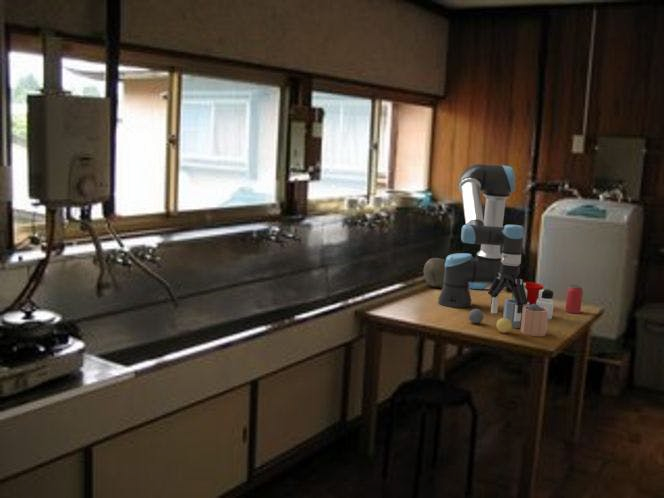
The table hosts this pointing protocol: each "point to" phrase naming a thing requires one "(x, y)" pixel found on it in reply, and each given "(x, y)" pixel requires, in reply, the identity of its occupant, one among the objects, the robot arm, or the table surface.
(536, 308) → the charcoal ball
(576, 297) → the beer can
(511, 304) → the slate tube
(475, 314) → the charcoal ball
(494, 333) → the table surface
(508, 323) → the ochre ball
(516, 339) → the table surface
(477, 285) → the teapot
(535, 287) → the ceramic cup
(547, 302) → the medicine bottle
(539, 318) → the terracotta tube
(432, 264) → the grey stone sphere
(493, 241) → the robot arm
